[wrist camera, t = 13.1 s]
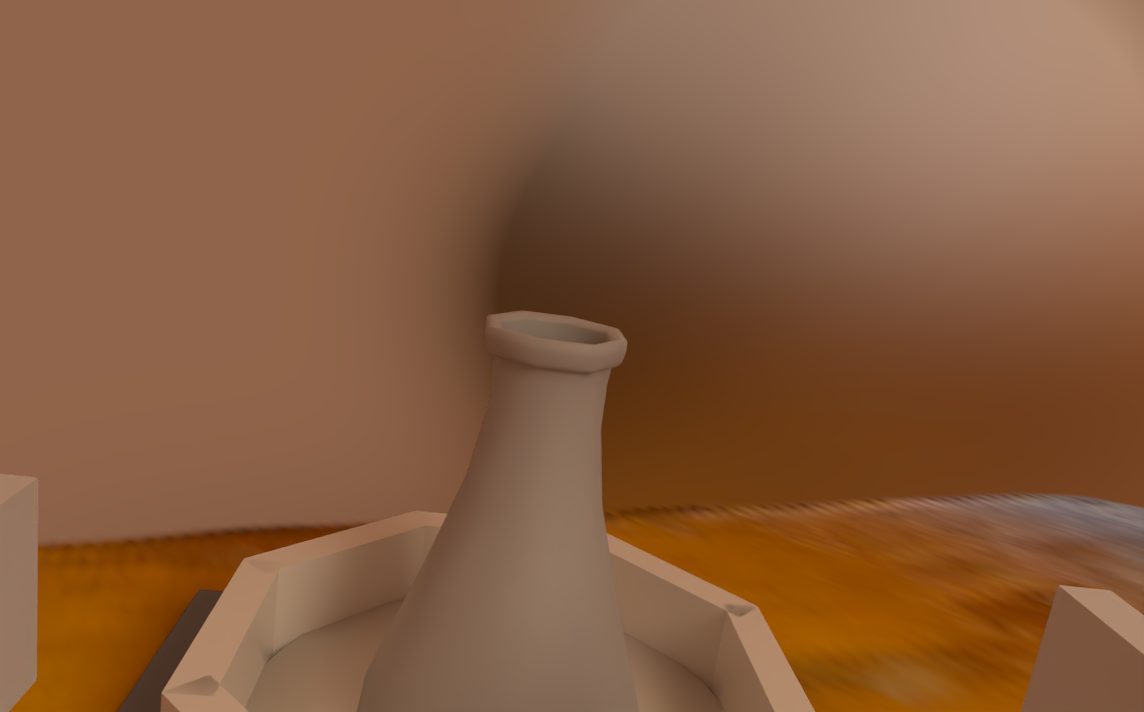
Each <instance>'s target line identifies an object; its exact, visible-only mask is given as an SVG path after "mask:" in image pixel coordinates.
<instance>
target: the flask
mask: <svg viewBox="0 0 1144 712" xmlns="http://www.w3.org/2000/svg"><path fill="white" fill-rule="evenodd" d="M485 339H486V349H487V351H488V352H489V353H490V354H492V355H494V367H493V374H492V380H491V388H490V395H489V401H488V406H487V410H486V413H485V416H484V419H483V422H482V426H481V429H480V432H479V436H478V439H477V442H476V445H475V449H474V452H473V455H472V458H471V461H470V465H469V468H468V471H467V474H466V477H465V479H464V481H463V483H462V485H461V487H460V489H459V491H458V493H457V495H456V497H455V500H454V501H453V504H452V506H451V508H450V510H449V512H448V514H447V516H446V518H445V520H444V522H443V524H442V526H441V528H440V530H439V532H438V534H437V536H436V539H435V541H434V543H433V545H432V547H431V549H430V551H429V553H428V555H427V557H426V559H425V561H424V563H423V565H422V567H421V569H420V571H419V573H418V575H417V577H416V579H415V581H414V582H413V584H412V586H411V588H410V590H409V592H408V594H407V596H406V597H405V599H404V601H403V603H402V605H401V607H400V609H399V611H398V612H397V614H396V616H395V618H394V620H393V622H392V624H391V625H390V627H389V629H388V631H387V633H386V635H385V637H384V639H383V640H382V642H381V644H380V646H379V648H378V650H377V652H376V654H375V656H374V658H373V660H372V663H371V665H370V667H369V669H368V671H367V673H366V675H365V679H364V683H363V687H362V692H361V696H360V700H359V704H358V708H357V712H639V708H638V703H637V698H636V693H635V688H634V683H633V678H632V673H631V668H630V663H629V658H628V653H627V648H626V643H625V638H624V633H623V628H622V623H621V618H620V612H619V606H618V600H617V594H616V587H615V581H614V575H613V569H612V563H611V557H610V551H609V545H608V538H607V532H606V526H605V520H604V514H603V508H602V466H601V424H602V417H603V410H604V403H605V395H606V388H607V382H608V379H609V375H610V371H611V368H613V367H616V366H619V365H620V364H621V363H622V361H623V358H624V356H625V353H626V348H627V341H626V339H625V338H624V336H623V335H622V333H621V331H620V330H619V329H616V328H613V327H609V326H606V325H602V324H598V323H593V322H590V321H586V320H582V319H578V318H575V317H570V316H561V315H554V314H546V313H538V312H530V311H515V312H507V313H501V314H493V315H488V316H487V321H486V334H485Z"/></svg>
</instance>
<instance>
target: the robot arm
mask: <svg viewBox="0 0 1144 712" xmlns="http://www.w3.org/2000/svg"><path fill="white" fill-rule="evenodd" d="M37 581H38V477H29V476H19V475H10V474H0V712H9V711H10V710H11V709H12V708H13V706H14V705H15V704H16V703H17V702H18V701H19V700H20V698H21V697H22V696H23V695H24V694H25V693H26V692H27V690H28V689H29V688H30V687H31V686H32V685H33V684H34V682H35V681H36V680H37ZM1021 712H1144V615H1143V614H1141V613H1140V612H1139V611H1137V610H1136V609H1135V608H1133V607H1132V606H1131V605H1129V604H1128V603H1127V602H1125V601H1124V600H1123V599H1121V598H1120V597H1119V596H1117V595H1116V594H1115V593H1113V592H1112V591H1110V590H1101V589H1091V588H1082V587H1072V586H1063V585H1058V588H1057V591H1056V594H1055V598H1054V601H1053V605H1052V608H1051V611H1050V615H1049V618H1048V621H1047V625H1046V628H1045V632H1044V635H1043V638H1042V642H1041V645H1040V649H1039V652H1038V655H1037V659H1036V662H1035V665H1034V669H1033V672H1032V676H1031V679H1030V682H1029V686H1028V689H1027V692H1026V696H1025V699H1024V703H1023V706H1022V709H1021Z"/></svg>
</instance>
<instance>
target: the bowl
mask: <svg viewBox="0 0 1144 712" xmlns="http://www.w3.org/2000/svg"><path fill="white" fill-rule="evenodd" d="M446 516H447V514H443V513H433V512H423V511H412V512H409V513H405V514H402V515H398V516H394V517H391V518H387V519H384V520H380V521H376V522H373V523H369V524H366V525H362V526H359V527H355V528H351V529H348V530H344V531H341V532H337V533H333V534H330V535H326V536H323V537H319V538H315V539H312V540H308V541H305V542H301V543H297V544H294V545H290V546H287V547H283V548H279V549H276V550H272V551H269V552H265V553H262V554H258V555H254V556H251V557H247V558H244V559H243V561H242V562H241V564H240V566H239V567H238V569H237V570H236V572H235V574H234V575H233V577H232V579H231V580H230V582H229V584H228V585H227V587H226V588H225V590H224V592H223V593H222V595H221V597H220V598H219V600H218V601H217V603H216V605H215V606H214V608H213V610H212V611H211V613H210V615H209V616H208V618H207V619H206V621H205V623H204V624H203V626H202V628H201V629H200V631H199V632H198V634H197V636H196V637H195V639H194V641H193V642H192V644H191V646H190V647H189V649H188V650H187V652H186V654H185V655H184V657H183V659H182V660H181V662H180V663H179V665H178V667H177V668H176V670H175V672H174V673H173V675H172V677H171V678H170V680H169V681H168V683H167V685H166V686H165V688H164V690H163V691H162V693H161V712H357V708H358V704H359V700H360V696H361V692H362V687H363V683H364V679H365V675H366V673H367V671H368V669H369V667H370V665H371V663H372V660H373V658H374V656H375V654H376V652H377V650H378V648H379V646H380V644H381V642H382V640H383V639H384V637H385V635H386V633H387V631H388V629H389V627H390V625H391V624H392V622H393V620H394V618H395V616H396V614H397V612H398V611H399V609H400V607H401V605H402V603H403V601H404V599H405V597H406V596H407V594H408V592H409V590H410V588H411V586H412V584H413V582H414V581H415V579H416V577H417V575H418V573H419V571H420V569H421V567H422V565H423V563H424V561H425V559H426V557H427V555H428V553H429V551H430V549H431V547H432V545H433V543H434V541H435V539H436V536H437V534H438V532H439V530H440V528H441V526H442V524H443V522H444V520H445V518H446ZM607 538H608V545H609V551H610V557H611V563H612V569H613V575H614V581H615V587H616V594H617V600H618V606H619V612H620V618H621V623H622V628H623V633H624V638H625V643H626V648H627V653H628V658H629V663H630V668H631V673H632V678H633V683H634V688H635V693H636V698H637V703H638V708H639V712H815V711H814V709H813V707H812V705H811V703H810V702H809V700H808V698H807V696H806V694H805V692H804V691H803V689H802V687H801V685H800V683H799V681H798V679H797V678H796V676H795V674H794V672H793V670H792V668H791V667H790V665H789V663H788V661H787V659H786V657H785V656H784V654H783V652H782V650H781V648H780V646H779V645H778V643H777V641H776V639H775V637H774V635H773V634H772V632H771V630H770V628H769V626H768V624H767V622H766V621H765V619H764V617H763V615H762V613H761V611H760V610H759V608H758V606H756V605H754V604H752V603H750V602H748V601H746V600H744V599H741V598H739V597H737V596H735V595H733V594H731V593H729V592H727V591H725V590H723V589H721V588H719V587H717V586H715V585H713V584H711V583H708V582H706V581H704V580H702V579H700V578H698V577H696V576H694V575H692V574H690V573H688V572H686V571H684V570H682V569H680V568H678V567H675V566H673V565H671V564H669V563H667V562H665V561H663V560H661V559H659V558H657V557H655V556H653V555H651V554H649V553H647V552H645V551H642V550H640V549H638V548H636V547H634V546H632V545H630V544H628V543H626V542H624V541H622V540H620V539H618V538H616V537H614V536H612V535H609V534H607Z"/></svg>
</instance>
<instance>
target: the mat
mask: <svg viewBox="0 0 1144 712" xmlns="http://www.w3.org/2000/svg"><path fill="white" fill-rule="evenodd" d="M222 593H223V592H222V591H210V590H199V591H198V592H197V594H196V595H195V597H194V598H193V600H192V601H191V603H190V604H189V606H188V607H187V609H186V610H185V612H184V613H183V615H182V616H181V618H180V619H179V621H178V622H177V624H176V625H175V627H174V628H173V630H172V631H171V633H170V634H169V636H168V637H167V639H166V640H165V642H164V643H163V645H162V646H161V648H160V649H159V651H158V652H157V653H156V655H155V656H154V658H153V659H152V661H151V662H150V664H149V665H148V667H147V668H146V670H145V671H144V673H143V674H142V676H141V677H140V679H139V680H138V682H137V683H136V685H135V686H134V688H133V689H132V691H131V692H130V694H129V695H128V697H127V698H126V700H125V701H124V703H123V704H122V706H121V707H120V709H119V710H118V712H161V693H162V691H163V690H164V688H165V686H166V685H167V683H168V681H169V680H170V678H171V677H172V675H173V673H174V672H175V670H176V668H177V667H178V665H179V663H180V662H181V660H182V659H183V657H184V655H185V654H186V652H187V650H188V649H189V647H190V646H191V644H192V642H193V641H194V639H195V637H196V636H197V634H198V632H199V631H200V629H201V628H202V626H203V624H204V623H205V621H206V619H207V618H208V616H209V615H210V613H211V611H212V610H213V608H214V606H215V605H216V603H217V601H218V600H219V598H220V597H221V595H222Z"/></svg>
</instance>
